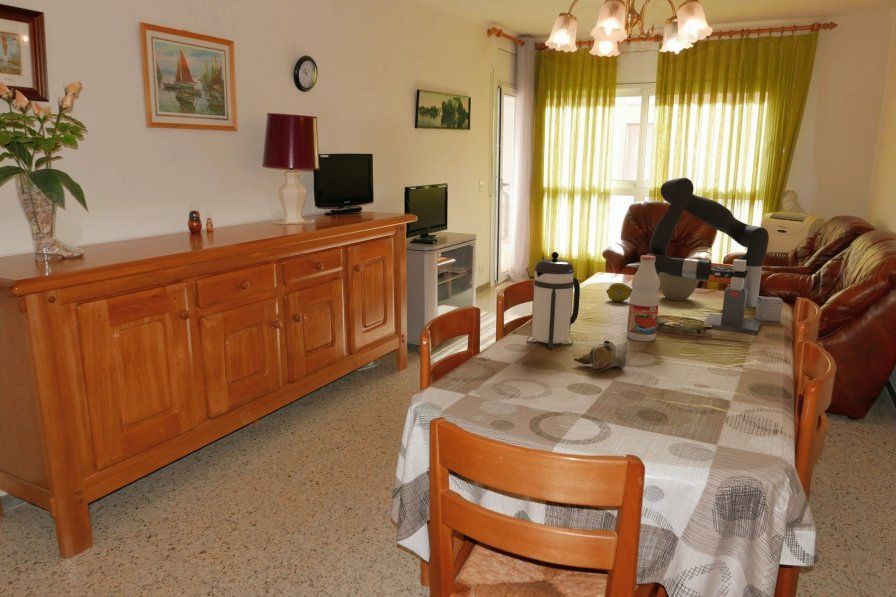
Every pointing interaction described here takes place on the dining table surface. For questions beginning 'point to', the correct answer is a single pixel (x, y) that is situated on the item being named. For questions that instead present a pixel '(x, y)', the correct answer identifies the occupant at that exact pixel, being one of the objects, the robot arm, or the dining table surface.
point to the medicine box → (768, 308)
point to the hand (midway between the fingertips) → (746, 274)
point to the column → (736, 282)
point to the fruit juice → (644, 301)
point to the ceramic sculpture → (605, 356)
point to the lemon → (619, 292)
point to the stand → (734, 314)
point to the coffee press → (554, 301)
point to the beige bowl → (676, 286)
